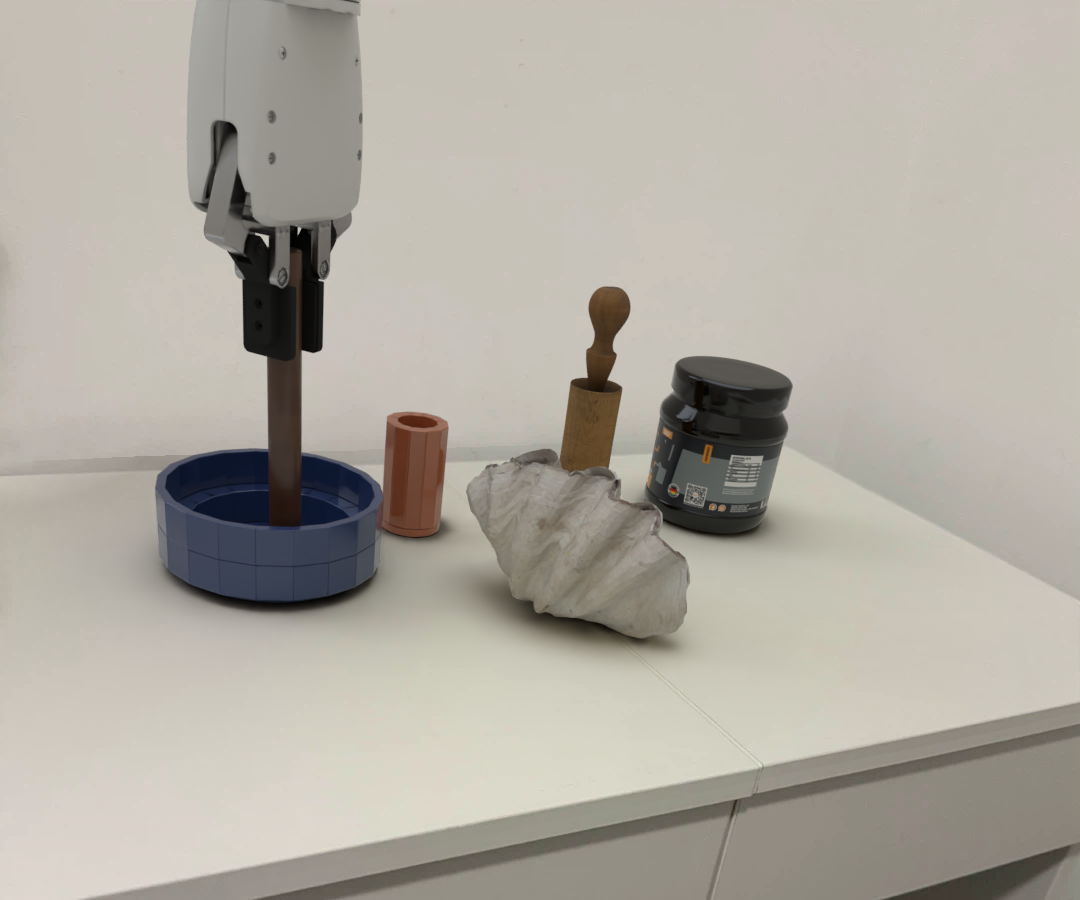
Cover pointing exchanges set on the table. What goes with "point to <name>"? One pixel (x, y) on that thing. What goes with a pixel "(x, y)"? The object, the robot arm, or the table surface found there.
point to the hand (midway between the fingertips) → (283, 349)
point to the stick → (286, 420)
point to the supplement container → (718, 444)
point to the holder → (414, 473)
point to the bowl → (267, 527)
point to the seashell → (580, 545)
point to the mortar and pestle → (596, 388)
